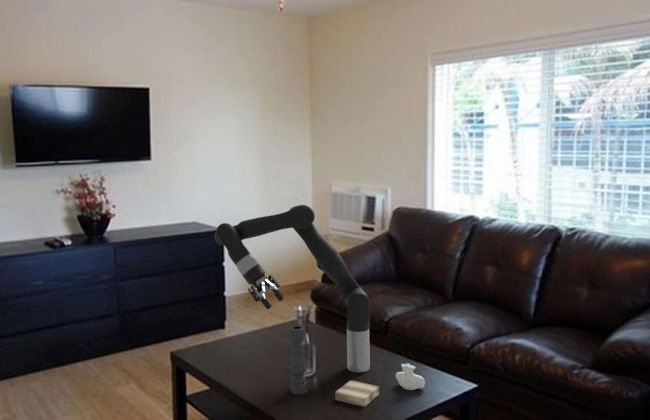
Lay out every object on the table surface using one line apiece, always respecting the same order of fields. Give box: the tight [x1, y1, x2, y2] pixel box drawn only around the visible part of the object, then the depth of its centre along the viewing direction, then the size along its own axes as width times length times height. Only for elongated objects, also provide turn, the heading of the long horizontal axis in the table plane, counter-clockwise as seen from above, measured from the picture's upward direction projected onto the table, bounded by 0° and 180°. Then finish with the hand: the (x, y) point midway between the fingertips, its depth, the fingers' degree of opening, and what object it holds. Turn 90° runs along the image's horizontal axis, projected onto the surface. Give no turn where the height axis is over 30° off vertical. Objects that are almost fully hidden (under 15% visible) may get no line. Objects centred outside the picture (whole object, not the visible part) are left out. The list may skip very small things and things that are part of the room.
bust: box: [395, 363, 426, 391], centre depth 226 cm, size 12×8×11 cm
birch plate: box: [334, 380, 380, 408], centre depth 220 cm, size 12×12×3 cm
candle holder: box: [289, 324, 308, 396], centre depth 225 cm, size 6×6×25 cm
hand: (276, 303), depth 221 cm, fingers open, 8 cm apart
